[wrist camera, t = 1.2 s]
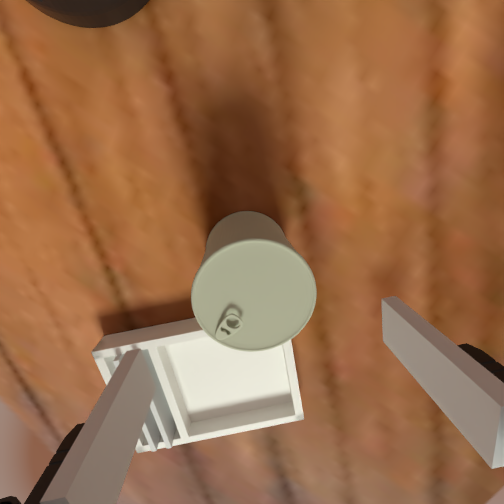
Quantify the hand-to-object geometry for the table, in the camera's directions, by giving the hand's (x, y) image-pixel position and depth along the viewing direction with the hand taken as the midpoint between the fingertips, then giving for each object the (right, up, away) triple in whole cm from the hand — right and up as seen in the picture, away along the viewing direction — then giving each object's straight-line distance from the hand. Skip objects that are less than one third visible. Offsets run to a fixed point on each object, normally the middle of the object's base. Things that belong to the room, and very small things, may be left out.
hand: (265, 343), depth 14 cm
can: (-1, +5, +16) cm, 17 cm away
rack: (-6, -11, +20) cm, 24 cm away
